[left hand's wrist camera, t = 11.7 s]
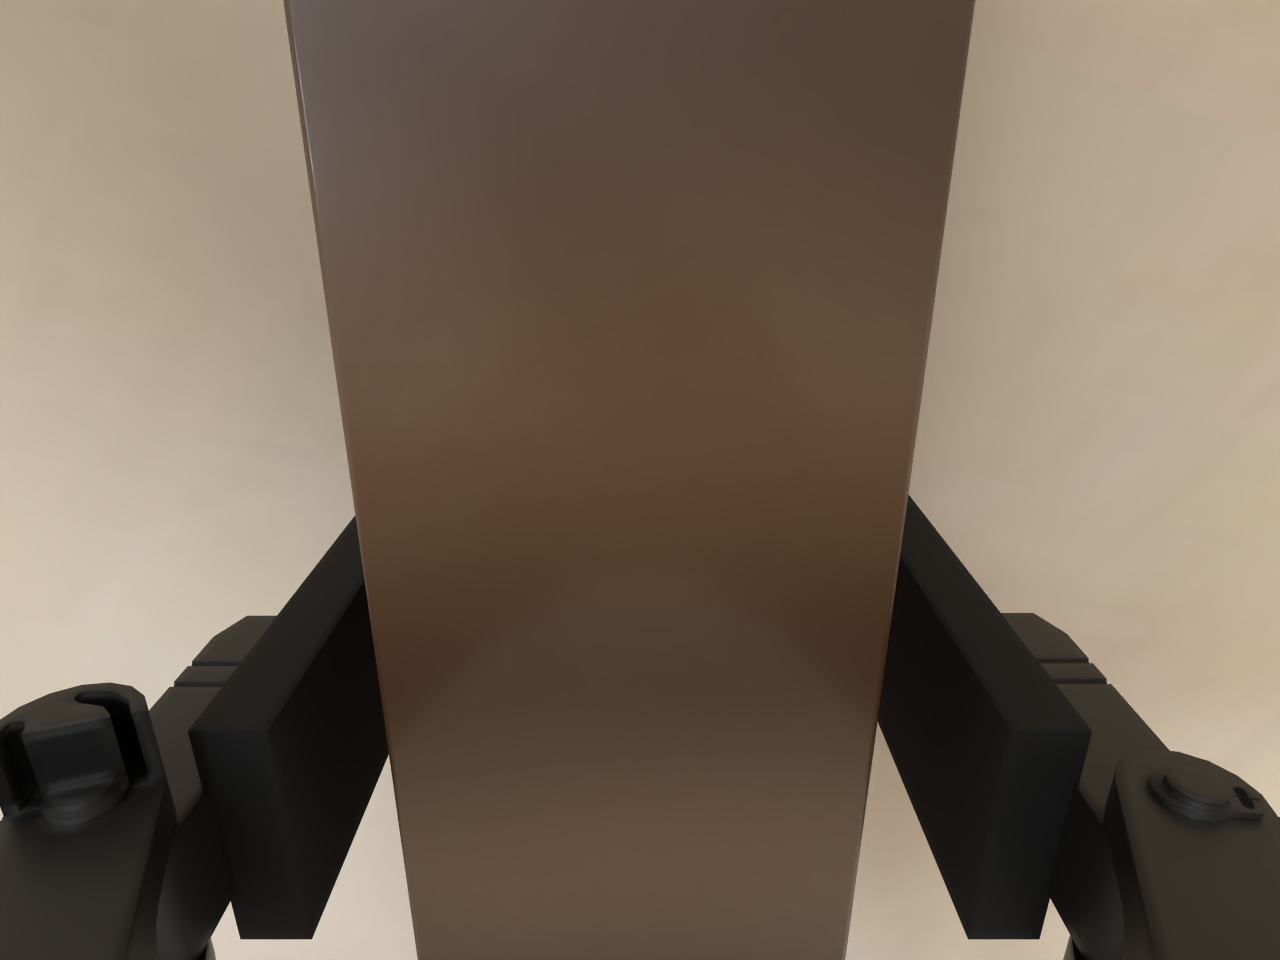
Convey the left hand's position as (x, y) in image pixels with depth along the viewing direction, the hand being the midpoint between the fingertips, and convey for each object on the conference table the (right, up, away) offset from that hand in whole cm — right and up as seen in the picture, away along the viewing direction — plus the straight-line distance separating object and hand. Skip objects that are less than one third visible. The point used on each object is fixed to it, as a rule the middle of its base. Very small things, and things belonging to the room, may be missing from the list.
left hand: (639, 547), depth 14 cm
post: (0, +33, -11) cm, 35 cm away
